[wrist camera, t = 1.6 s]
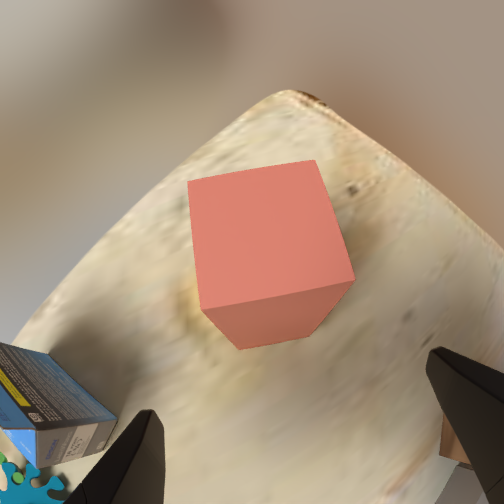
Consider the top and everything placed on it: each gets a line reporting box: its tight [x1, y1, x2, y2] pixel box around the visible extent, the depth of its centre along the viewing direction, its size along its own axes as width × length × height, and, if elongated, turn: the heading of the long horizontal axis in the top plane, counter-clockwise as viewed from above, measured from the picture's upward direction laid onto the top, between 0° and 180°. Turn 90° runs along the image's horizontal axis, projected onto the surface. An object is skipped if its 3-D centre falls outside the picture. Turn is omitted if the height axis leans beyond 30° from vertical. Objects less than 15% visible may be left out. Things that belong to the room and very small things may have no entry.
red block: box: [187, 160, 356, 350], centre depth 16 cm, size 5×5×12 cm
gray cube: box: [435, 466, 489, 504], centre depth 12 cm, size 5×5×5 cm
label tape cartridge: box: [0, 343, 118, 469], centre depth 14 cm, size 9×4×12 cm, turn 62°
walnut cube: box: [439, 413, 471, 465], centre depth 15 cm, size 5×5×5 cm
